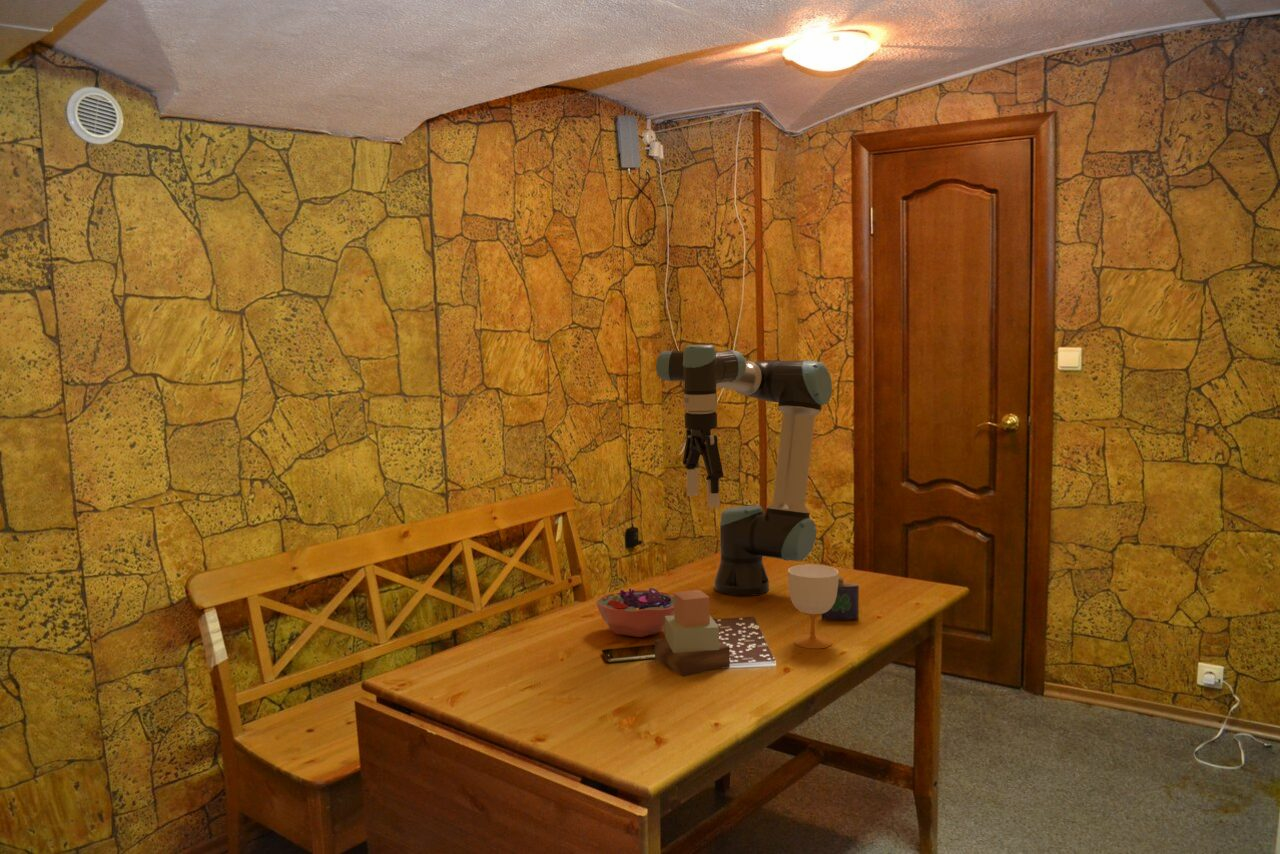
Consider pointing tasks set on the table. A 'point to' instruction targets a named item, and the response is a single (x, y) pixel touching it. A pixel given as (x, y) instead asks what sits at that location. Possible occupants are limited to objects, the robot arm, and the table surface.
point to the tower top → (691, 636)
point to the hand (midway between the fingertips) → (703, 501)
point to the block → (691, 608)
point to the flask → (844, 603)
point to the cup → (813, 597)
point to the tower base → (691, 659)
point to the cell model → (636, 611)
